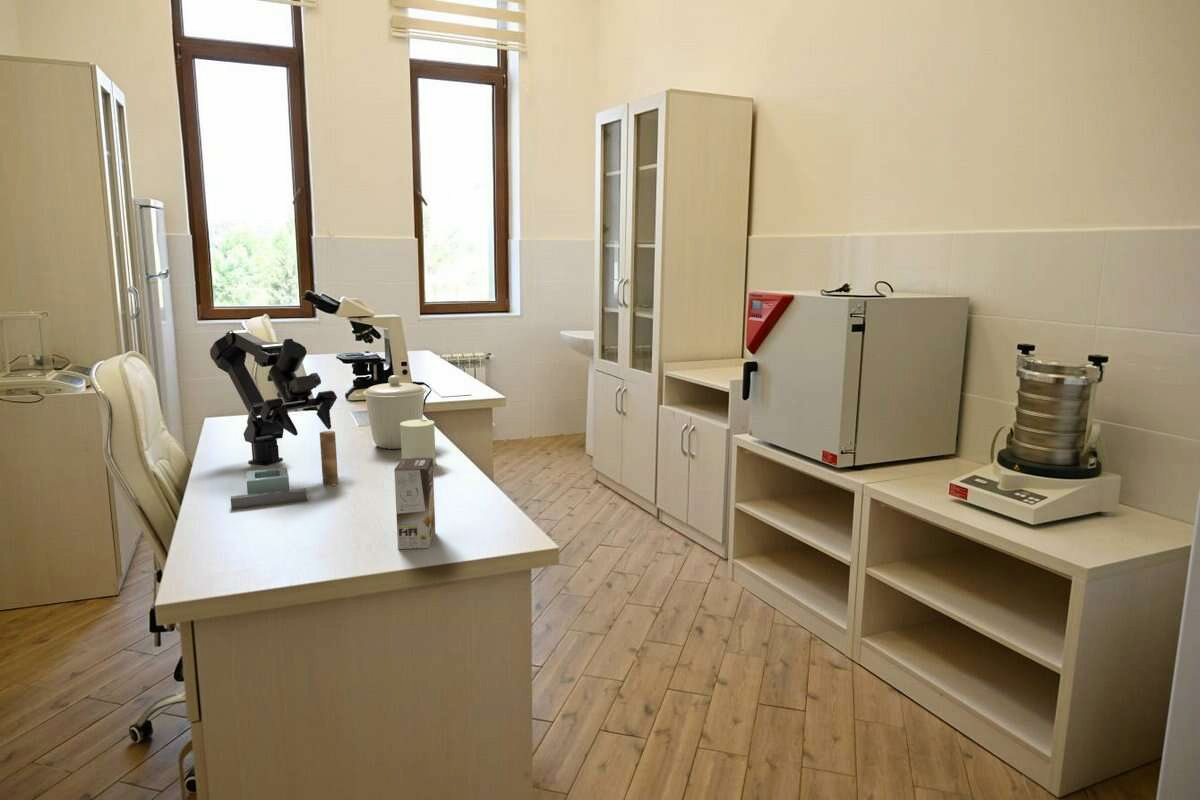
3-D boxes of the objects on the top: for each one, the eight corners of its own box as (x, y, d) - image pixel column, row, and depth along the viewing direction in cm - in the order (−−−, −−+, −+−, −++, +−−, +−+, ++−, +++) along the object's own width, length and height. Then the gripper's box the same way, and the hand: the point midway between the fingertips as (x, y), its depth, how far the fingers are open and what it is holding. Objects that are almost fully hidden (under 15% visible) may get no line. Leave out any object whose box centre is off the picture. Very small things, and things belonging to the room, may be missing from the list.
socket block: (248, 491, 192) (246, 471, 191) (288, 487, 196) (286, 467, 195) (248, 502, 184) (246, 481, 183) (290, 497, 187) (288, 476, 186)
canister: (433, 449, 233) (430, 378, 229) (369, 455, 226) (365, 381, 222) (423, 436, 249) (420, 369, 245) (363, 441, 243) (359, 372, 239)
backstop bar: (231, 507, 180) (230, 496, 180) (306, 498, 187) (305, 488, 186) (231, 509, 179) (230, 498, 178) (307, 500, 185) (306, 490, 184)
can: (442, 461, 219) (441, 418, 217) (424, 470, 211) (423, 425, 209) (413, 458, 222) (411, 416, 220) (394, 467, 214) (392, 423, 212)
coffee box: (430, 548, 155) (427, 469, 152) (397, 549, 155) (393, 469, 152) (436, 532, 164) (433, 456, 161) (404, 533, 164) (401, 457, 161)
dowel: (319, 484, 198) (316, 433, 195) (330, 480, 201) (326, 430, 199) (331, 486, 196) (327, 434, 194) (341, 482, 199) (338, 431, 197)
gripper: (261, 367, 194) (289, 418, 189) (330, 359, 208) (357, 406, 203) (248, 396, 200) (274, 445, 195) (316, 386, 214) (342, 432, 209)
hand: (313, 431), depth 200 cm, fingers open, 9 cm apart
